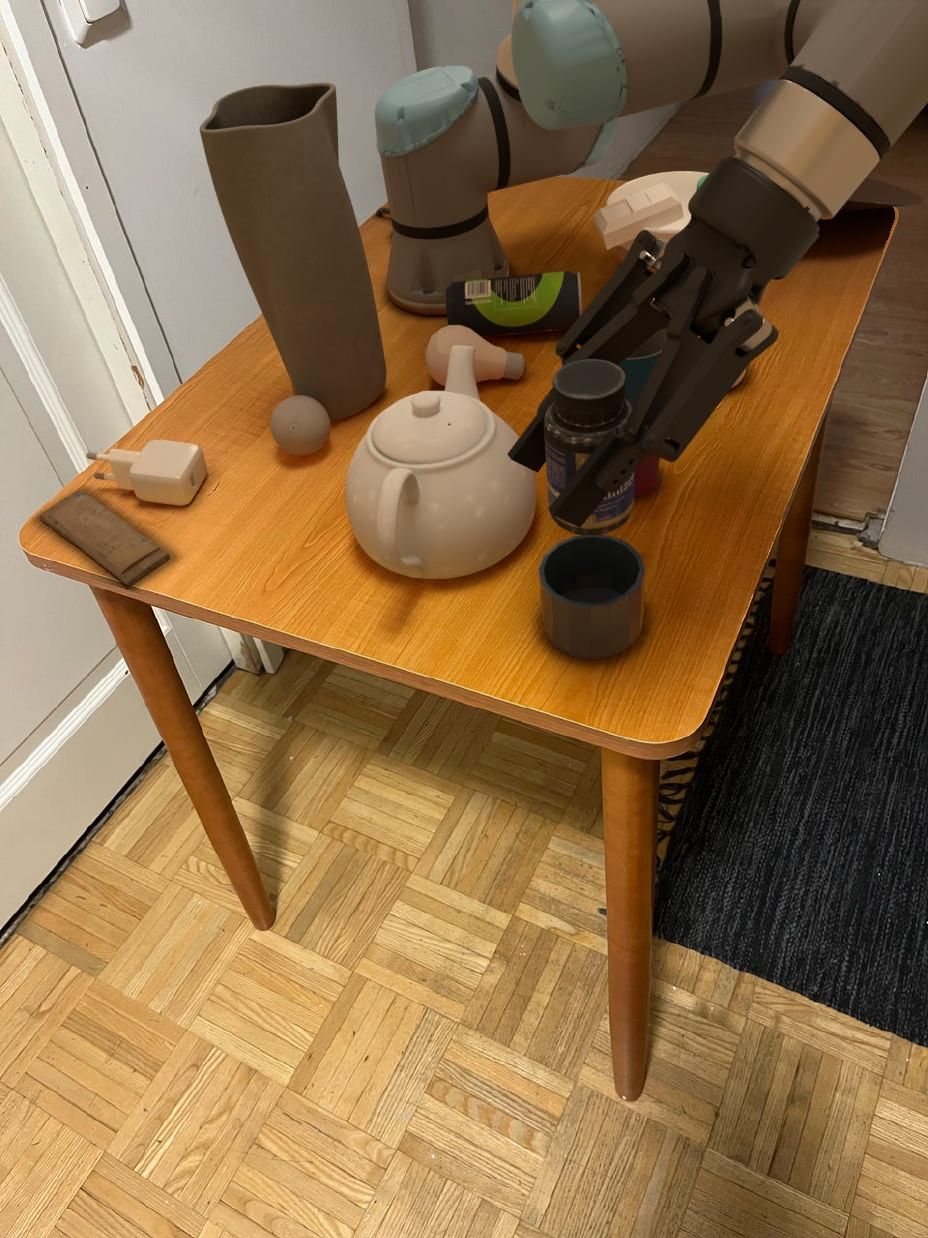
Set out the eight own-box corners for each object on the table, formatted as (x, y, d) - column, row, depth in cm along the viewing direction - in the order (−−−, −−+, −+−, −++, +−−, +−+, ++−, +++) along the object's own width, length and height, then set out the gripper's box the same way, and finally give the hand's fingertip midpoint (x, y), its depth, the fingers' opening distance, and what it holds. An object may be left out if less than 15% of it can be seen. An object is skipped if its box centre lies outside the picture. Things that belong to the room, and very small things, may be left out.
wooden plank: (83, 494, 98) (42, 522, 95) (78, 485, 97) (35, 512, 95) (171, 557, 88) (127, 589, 86) (166, 547, 87) (121, 579, 85)
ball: (318, 463, 100) (345, 413, 98) (305, 470, 94) (334, 417, 92) (268, 433, 99) (295, 382, 98) (252, 437, 93) (281, 384, 92)
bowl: (765, 251, 115) (773, 185, 109) (693, 310, 108) (698, 242, 102) (653, 223, 123) (655, 161, 118) (579, 276, 116) (578, 212, 110)
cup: (673, 462, 90) (681, 317, 79) (659, 508, 86) (666, 362, 75) (602, 454, 92) (601, 312, 81) (585, 498, 88) (581, 355, 77)
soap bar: (684, 217, 106) (679, 195, 104) (607, 249, 107) (601, 228, 105) (671, 199, 109) (667, 177, 107) (597, 230, 110) (591, 209, 109)
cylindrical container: (525, 611, 79) (520, 558, 74) (607, 574, 81) (607, 520, 76) (576, 674, 73) (573, 621, 69) (662, 633, 75) (665, 579, 71)
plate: (722, 156, 134) (732, 128, 132) (918, 218, 126) (932, 189, 124) (663, 174, 113) (673, 141, 110) (895, 250, 105) (911, 216, 103)
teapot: (314, 512, 91) (278, 390, 81) (480, 440, 96) (465, 317, 86) (401, 630, 79) (371, 504, 69) (585, 541, 84) (582, 411, 74)
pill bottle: (580, 550, 66) (576, 417, 58) (532, 505, 70) (521, 375, 62) (651, 514, 67) (657, 380, 59) (601, 472, 71) (599, 341, 63)
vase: (411, 371, 106) (359, 77, 84) (371, 437, 98) (302, 131, 76) (311, 364, 109) (237, 79, 87) (265, 426, 101) (171, 131, 80)
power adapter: (112, 463, 99) (86, 499, 95) (98, 425, 96) (71, 461, 92) (212, 475, 98) (190, 513, 94) (202, 437, 94) (179, 475, 90)
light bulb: (533, 323, 101) (431, 306, 100) (532, 367, 97) (426, 350, 96) (520, 368, 106) (423, 353, 105) (519, 411, 103) (418, 396, 102)
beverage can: (448, 343, 106) (583, 331, 105) (443, 285, 104) (580, 271, 102) (453, 335, 112) (581, 324, 110) (448, 280, 110) (578, 267, 108)
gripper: (913, 283, 52) (644, 590, 61) (723, 170, 65) (523, 438, 74) (848, 213, 48) (567, 557, 57) (657, 106, 60) (452, 401, 69)
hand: (543, 489), depth 65 cm, fingers closed on pill bottle, 6 cm apart
